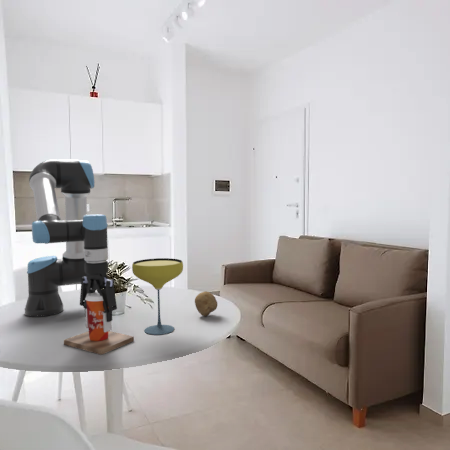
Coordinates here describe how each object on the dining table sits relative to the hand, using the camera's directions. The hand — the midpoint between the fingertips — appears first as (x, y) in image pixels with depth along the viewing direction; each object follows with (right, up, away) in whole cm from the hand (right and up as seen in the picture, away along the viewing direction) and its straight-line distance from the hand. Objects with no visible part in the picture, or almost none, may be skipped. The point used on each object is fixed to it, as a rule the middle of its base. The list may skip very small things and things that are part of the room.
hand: (98, 328), depth 137 cm
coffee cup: (0, -3, 0) cm, 3 cm away
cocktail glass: (+18, -4, +13) cm, 22 cm away
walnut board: (0, -5, 0) cm, 5 cm away
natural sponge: (+35, -2, +29) cm, 45 cm away
